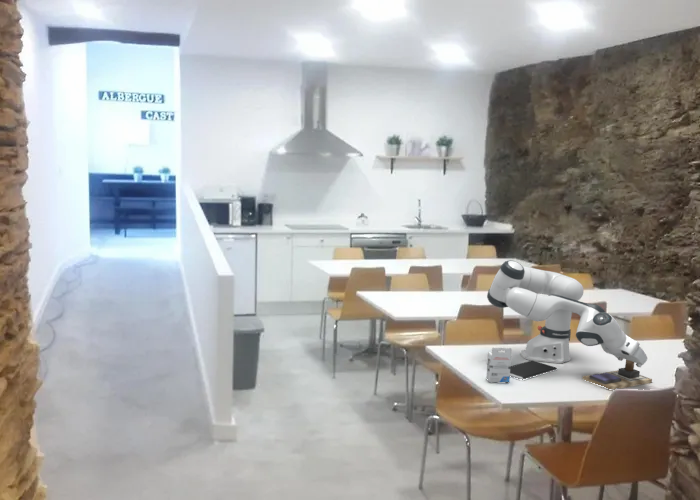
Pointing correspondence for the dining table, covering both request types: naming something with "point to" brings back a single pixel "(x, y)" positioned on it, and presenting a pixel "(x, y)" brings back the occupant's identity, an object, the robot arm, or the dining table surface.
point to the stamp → (629, 370)
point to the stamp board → (616, 380)
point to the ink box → (499, 365)
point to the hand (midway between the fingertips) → (630, 362)
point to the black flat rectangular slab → (529, 369)
